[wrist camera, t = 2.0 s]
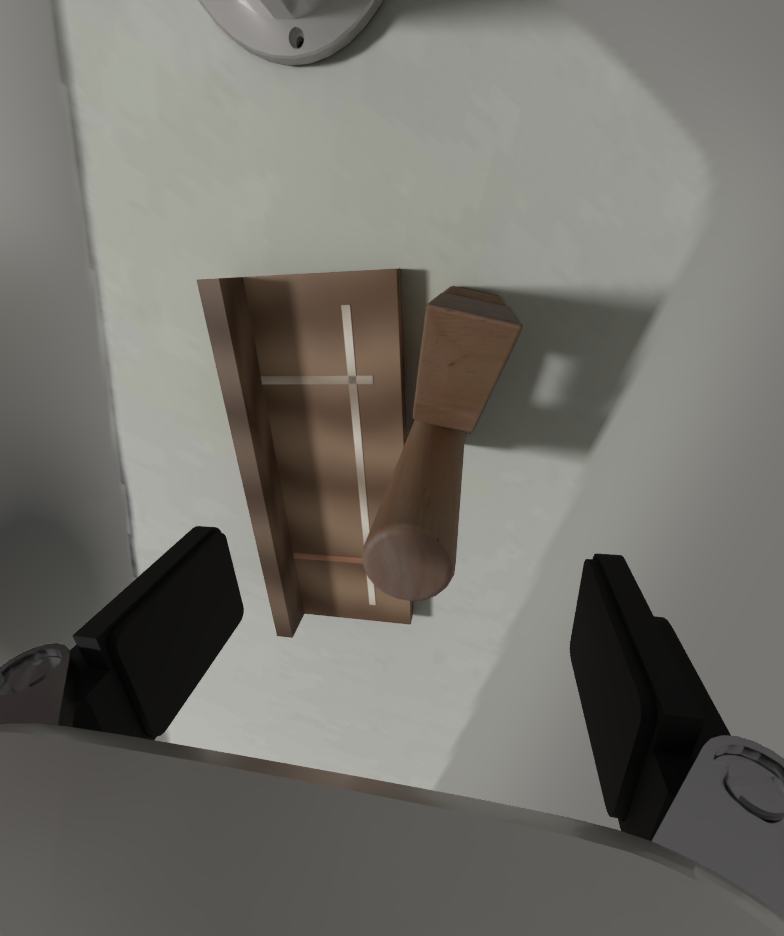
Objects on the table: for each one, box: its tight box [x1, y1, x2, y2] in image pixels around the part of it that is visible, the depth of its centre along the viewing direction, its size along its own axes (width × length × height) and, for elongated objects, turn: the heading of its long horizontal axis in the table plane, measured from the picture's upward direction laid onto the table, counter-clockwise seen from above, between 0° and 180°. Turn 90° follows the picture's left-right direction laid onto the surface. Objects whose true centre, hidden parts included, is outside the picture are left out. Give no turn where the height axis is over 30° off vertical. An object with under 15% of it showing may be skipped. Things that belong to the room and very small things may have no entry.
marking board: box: [197, 269, 413, 638], centre depth 33 cm, size 30×12×4 cm, turn 3°
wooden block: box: [362, 286, 522, 601], centre depth 22 cm, size 4×11×18 cm, turn 169°
